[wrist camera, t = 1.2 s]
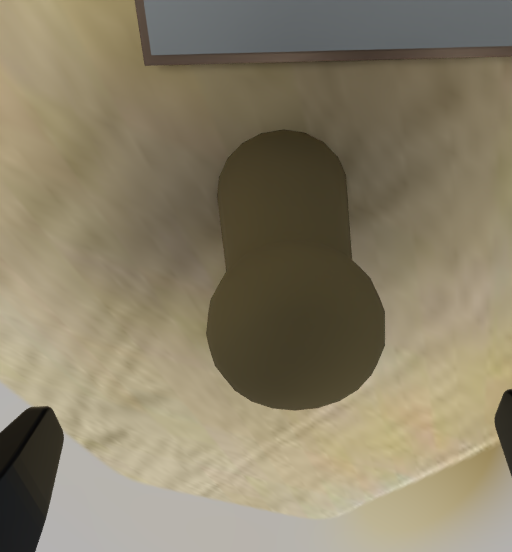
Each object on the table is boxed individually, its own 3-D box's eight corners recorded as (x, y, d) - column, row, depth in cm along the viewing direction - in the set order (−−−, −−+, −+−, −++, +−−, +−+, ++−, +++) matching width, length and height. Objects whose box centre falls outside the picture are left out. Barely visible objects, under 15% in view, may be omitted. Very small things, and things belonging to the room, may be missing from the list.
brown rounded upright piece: (237, 111, 19) (216, 248, 10) (369, 153, 20) (462, 313, 11) (203, 232, 22) (165, 418, 13) (318, 262, 23) (356, 456, 14)
